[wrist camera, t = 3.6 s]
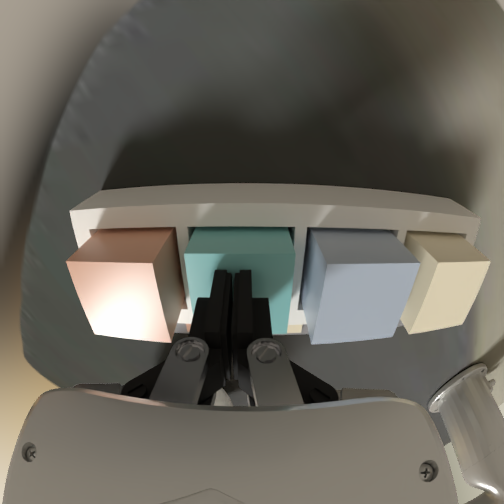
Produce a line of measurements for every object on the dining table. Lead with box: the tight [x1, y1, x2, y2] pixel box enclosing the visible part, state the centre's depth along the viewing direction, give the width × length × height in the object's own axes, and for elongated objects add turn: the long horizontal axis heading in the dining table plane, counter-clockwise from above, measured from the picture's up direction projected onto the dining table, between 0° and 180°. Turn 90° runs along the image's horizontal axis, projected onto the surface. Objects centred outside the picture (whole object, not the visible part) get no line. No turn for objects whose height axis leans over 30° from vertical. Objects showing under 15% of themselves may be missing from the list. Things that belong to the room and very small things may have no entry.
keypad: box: [70, 183, 481, 335], centre depth 17 cm, size 26×12×4 cm, turn 90°
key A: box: [66, 227, 185, 343], centre depth 14 cm, size 5×5×5 cm
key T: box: [184, 226, 296, 334], centre depth 15 cm, size 5×5×5 cm
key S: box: [300, 227, 420, 344], centre depth 14 cm, size 5×5×5 cm
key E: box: [400, 230, 491, 334], centre depth 14 cm, size 5×5×5 cm
